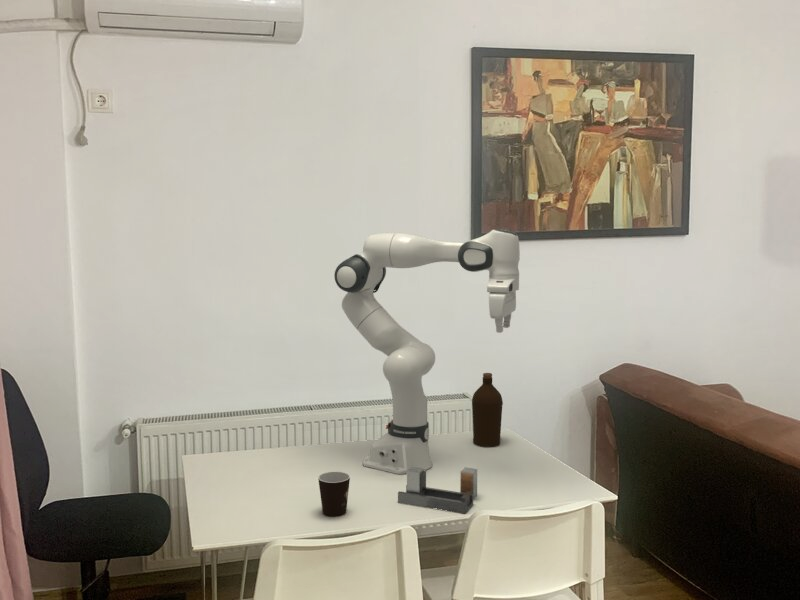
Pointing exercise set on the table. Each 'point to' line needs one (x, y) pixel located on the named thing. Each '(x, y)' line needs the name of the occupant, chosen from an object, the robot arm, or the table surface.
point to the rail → (432, 494)
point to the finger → (469, 481)
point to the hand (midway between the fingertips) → (503, 329)
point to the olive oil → (487, 414)
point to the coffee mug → (334, 493)
